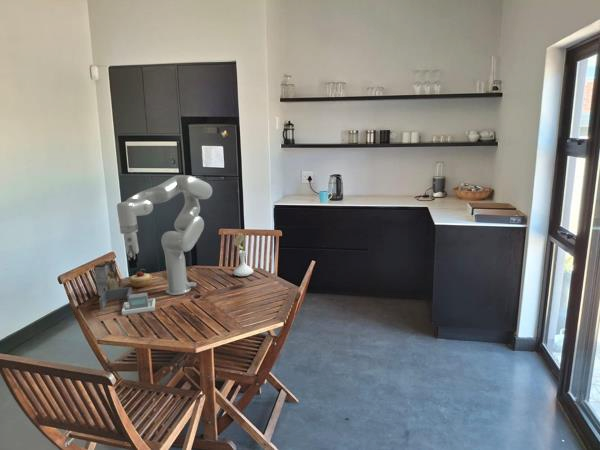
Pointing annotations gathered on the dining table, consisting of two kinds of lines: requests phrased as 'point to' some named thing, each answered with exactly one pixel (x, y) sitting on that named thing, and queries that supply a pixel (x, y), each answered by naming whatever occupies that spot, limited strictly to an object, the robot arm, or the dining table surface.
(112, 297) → the bay
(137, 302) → the grey chamfered block
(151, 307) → the tray
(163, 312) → the dining table surface
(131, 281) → the pastry
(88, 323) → the dining table surface
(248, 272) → the flower in vase
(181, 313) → the dining table surface
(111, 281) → the coffee box
